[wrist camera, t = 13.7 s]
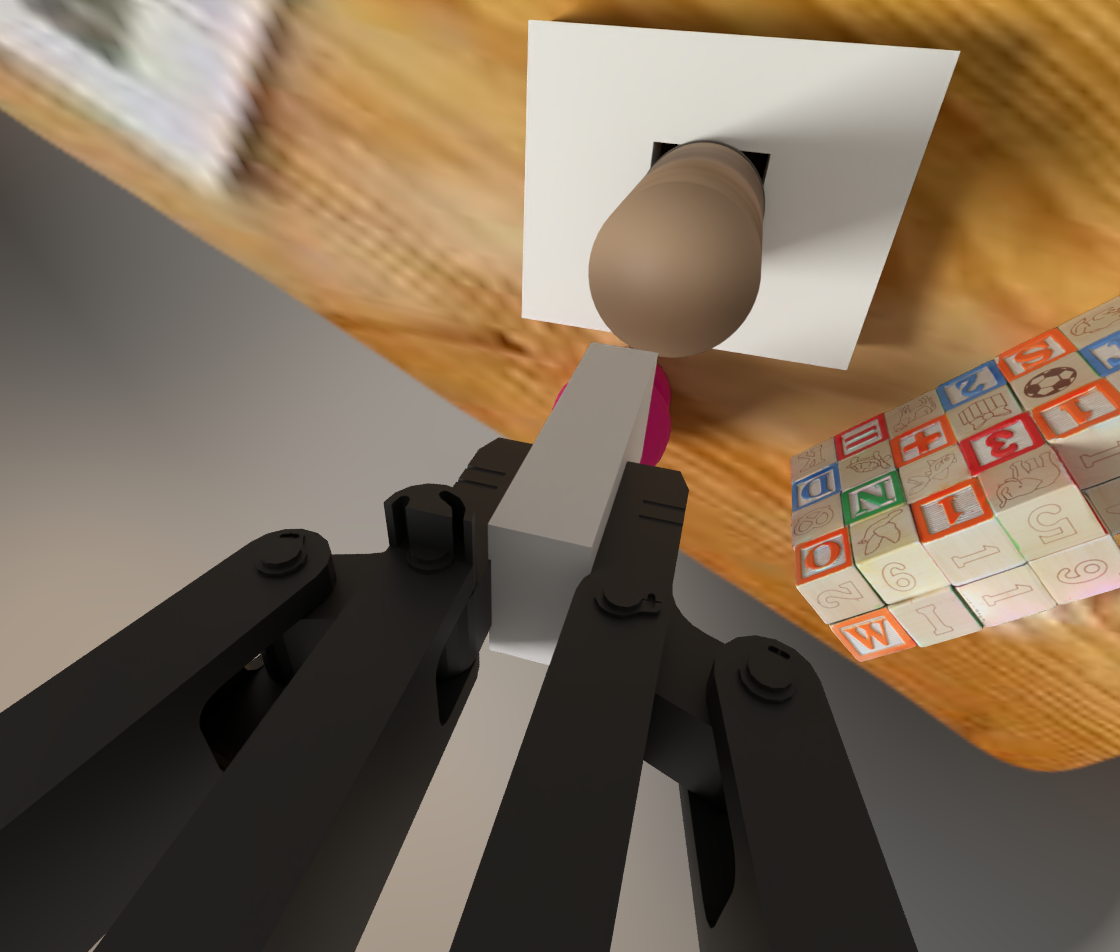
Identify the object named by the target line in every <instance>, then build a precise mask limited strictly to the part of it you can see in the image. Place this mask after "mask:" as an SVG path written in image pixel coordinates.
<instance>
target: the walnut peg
mask: <svg viewBox="0 0 1120 952" xmlns="http://www.w3.org/2000/svg"><path fill="white" fill-rule="evenodd" d="M764 213H765V193H764V188H763V183H762V180H761V178H760V175H759V173H758V171H757V169H756V168H755V166H754V165H753V163H752V162H751V161H750V159H748V158H747V157H746V156H745V155H744V154H743V153H742V152H741V151H739V150H738V149H737V148H735V147H733V146H731V145H729V144H726V143H723V142H720V141H715V140H695V141H691V142H687V143H684V144H681V145H679V146H676V147H675V148H673V149H671V150H669V151H668V152H667V153H665V154H664V155H663V156H661V157H660V158H659V159H658V160H657V161H656V162H655V163H654V165H653V166H652V167H651V168H650V170H649V171H648V172H647V174H646V175H645V176H644V178H643V179H642V180H641V181H640V182H639V183H638V184H637V185H636V187H635V188H634V189H633V190H632V191H631V192H630V193H629V195H628V196H627V197H626V198H625V199H624V200H623V201H622V202H621V204H620V205H619V206H618V207H617V208H616V209H615V210H614V212H613V213H612V214H611V215H610V216H609V218H608V219H607V220H606V221H605V223H604V224H603V226H602V227H601V229H600V231H599V232H598V234H597V237H596V239H595V241H594V244H593V247H592V250H591V254H590V260H589V269H588V278H589V288H590V292H591V296H592V299H593V302H594V305H595V307H596V309H597V311H598V313H599V315H600V317H601V319H602V320H603V321H604V323H605V324H606V326H607V327H608V328H609V329H610V330H611V331H612V332H613V333H614V334H615V335H616V336H617V337H618V338H619V339H620V340H622V341H623V342H625V343H626V344H628V345H629V346H631V347H633V348H635V349H637V350H644V351H650V352H656V353H658V356H659V357H668V358H675V357H686V356H692V355H696V354H700V353H702V352H705V351H707V350H710V349H712V348H714V347H716V346H717V345H719V344H721V343H722V342H724V341H725V340H726V339H728V338H729V337H730V336H731V335H732V334H733V333H734V332H736V331H737V330H738V328H739V327H740V326H741V325H742V324H743V322H744V321H745V320H746V318H747V316H748V315H749V313H750V312H751V310H752V308H753V305H754V303H755V301H756V298H757V295H758V292H759V287H760V281H761V264H762V239H763V219H764Z"/></svg>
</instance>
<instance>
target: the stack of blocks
mask: <svg viewBox="0 0 1120 952" xmlns="http://www.w3.org/2000/svg"><path fill="white" fill-rule="evenodd" d="M790 463H791V484H792V513H793V514H792V516H791V521H792V523H791V527H792V532H791V533H792V548H793V550H794V551H795V582H796V587H797V589H798V590H799V591H800V593H801V594H802V595H803V596H804V597H805V599H806V600H807V601H808V602H809V604H810V605H811V606H812V607H813V608H814V610H815V611H816V612H817V613H818V615H819V616H820V617H821V618H822V620H823V621H824V622H825V623H826V624H829V626H830V628H831V630H832V631H833V632H834V634H835V635H836V636H837V637H838V638H839V639H840V641H841V642H842V643H843V644H844V645H845V647H846V648H847V649H848V650H849V651H850V652H851V653H852V655H853V656H854V657H855V658H856V659H857V660H858V661H860V662H863V661H866V660H870V659H873V658H877V657H880V656H883V655H887V654H890V653H895V652H899V651H901V650H905V649H909V648H912V647H915V646H916V645H919V646H920V647H926V646H929V645H932V644H936V643H940V642H943V641H947V640H950V639H954V638H957V637H960V636H964V635H967V634H970V633H974V632H977V631H980V630H982V629H983V626H987V627H993V626H996V625H1000V624H1004V623H1007V622H1010V621H1013V620H1016V619H1020V618H1023V617H1026V616H1029V615H1032V614H1036V613H1039V612H1043V611H1046V610H1050V609H1052V608H1054V607H1055V606H1057V605H1058V604H1062V605H1064V604H1067V603H1071V602H1074V601H1077V600H1081V599H1084V598H1087V597H1091V596H1094V595H1097V594H1101V593H1104V592H1107V591H1111V590H1114V589H1117V588H1120V548H1119V546H1118V545H1117V543H1116V541H1115V540H1114V538H1113V535H1116V534H1120V296H1118V297H1116V298H1114V299H1112V300H1110V301H1108V302H1106V303H1104V304H1102V305H1100V306H1098V307H1096V308H1094V309H1092V310H1090V311H1088V312H1086V313H1084V314H1082V315H1080V316H1078V317H1076V318H1074V319H1072V320H1069V321H1068V322H1066V323H1064V324H1062V325H1061V326H1059V327H1058V328H1055V329H1052V330H1049V331H1047V332H1045V333H1043V334H1041V335H1039V336H1037V337H1035V338H1033V339H1031V340H1029V341H1027V342H1024V343H1022V344H1020V345H1018V346H1016V347H1014V348H1012V349H1010V350H1008V351H1006V352H1004V353H1002V354H1000V355H998V356H996V357H995V358H994V359H993V360H991V361H989V362H986V363H984V364H982V365H980V366H978V367H976V368H974V369H972V370H970V371H968V372H966V373H964V374H962V375H960V376H958V377H956V378H954V379H952V380H950V381H948V382H946V383H944V384H942V385H940V386H938V387H937V388H936V389H933V390H931V391H928V392H926V393H924V394H922V395H920V396H918V397H916V398H914V399H912V400H910V401H908V402H906V403H904V404H902V405H900V406H898V407H896V408H894V409H892V410H890V411H888V412H886V413H884V414H879V415H878V416H875V417H873V418H871V419H869V420H867V421H865V422H863V423H861V424H859V425H857V426H855V427H853V428H851V429H849V430H847V431H845V432H843V433H841V434H839V435H837V436H835V437H833V438H830V439H828V440H826V441H824V442H822V443H819V444H817V445H815V446H813V447H811V448H809V449H807V450H805V451H803V452H801V453H799V454H797V455H795V456H793V457H792V458H791V461H790Z"/></svg>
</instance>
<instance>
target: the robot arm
mask: <svg viewBox="0 0 1120 952" xmlns="http://www.w3.org/2000/svg"><path fill="white" fill-rule="evenodd" d="M657 358H658V353H656V352H650V351H644V350H637V349H631V348H625V347H619V346H613V345H607V344H601V343H595V342H591V344H590V345H589V347H588V349H587V351H586V352H585V354H584V356H583V358H582V359H581V361H580V363H579V365H578V366H577V368H576V370H575V372H574V374H573V375H572V377H571V379H570V381H569V382H568V384H567V386H566V388H565V389H564V391H563V393H562V395H561V396H560V398H559V400H558V402H557V403H556V405H555V407H554V409H553V410H552V412H551V414H550V416H549V417H548V419H547V421H546V423H545V425H544V426H543V428H542V430H541V432H540V433H539V435H538V437H537V439H536V440H535V442H534V444H529V443H524V442H519V441H514V440H509V439H504V438H497V439H496V440H494V441H492V442H490V443H489V444H487V445H485V446H484V447H482V448H480V449H479V450H478V452H477V453H476V454H475V456H474V457H473V459H472V460H471V461H470V463H469V464H468V468H467V469H465V470H464V472H463V473H462V474H461V476H460V477H459V480H458V482H456V483H455V485H454V486H453V487H450V486H447V485H440V484H423V485H415V486H410V487H408V488H405V489H403V490H400V491H398V492H396V493H394V494H393V495H392V496H391V497H389V498H388V499H387V500H386V501H385V502H384V509H385V516H386V523H387V531H388V537H389V545H390V546H389V547H388V549H387V550H386V551H385V552H382V553H373V554H342V555H341V554H335V555H332V554H331V550H330V547H329V544H328V541H327V540H326V539H324V538H323V537H322V536H321V535H319V534H318V533H316V532H312V531H308V530H304V529H284V530H280V531H276V532H272V533H268V534H265V535H263V536H262V537H260V538H258V539H256V540H254V541H252V542H250V543H249V544H247V545H246V546H244V547H243V548H241V549H240V550H238V551H237V552H235V553H234V554H232V555H231V556H229V557H228V558H227V559H225V560H224V561H222V562H221V563H219V564H218V565H216V566H215V567H213V568H212V569H211V570H209V571H208V572H206V573H205V574H203V575H202V576H200V577H199V578H197V579H196V580H194V581H193V582H192V583H190V584H189V585H187V586H186V587H184V588H183V589H182V590H180V591H179V592H177V593H175V594H174V595H172V596H171V597H169V598H168V599H167V600H165V601H164V602H162V603H161V604H159V605H158V606H156V607H155V608H154V609H152V610H150V611H149V612H148V613H146V614H145V615H143V616H142V617H140V618H139V619H137V620H136V621H135V622H133V623H131V624H130V625H129V626H127V627H126V628H124V629H123V630H121V631H120V632H118V633H117V634H115V635H114V636H112V637H111V638H110V639H108V640H107V641H105V642H104V643H102V644H101V645H99V646H98V647H96V648H95V649H93V650H92V651H90V652H89V653H88V654H86V655H85V656H83V657H82V658H80V659H79V660H77V661H76V662H74V663H73V664H71V665H70V666H69V667H67V668H66V669H64V670H63V671H61V672H60V673H58V674H57V675H55V676H54V677H52V678H51V679H50V680H48V681H47V682H45V683H44V684H42V685H41V686H39V687H38V688H36V689H35V690H33V691H32V692H31V693H29V694H28V695H26V696H25V697H23V698H22V699H20V700H19V701H17V702H16V703H14V704H13V705H11V706H10V707H9V708H7V709H6V710H4V711H3V712H1V713H0V952H88V951H89V950H90V949H91V948H92V947H93V946H94V945H95V944H96V943H97V942H98V941H99V940H100V939H101V938H102V937H103V935H105V934H106V935H105V936H104V937H103V938H102V940H101V941H100V943H99V944H98V945H97V947H96V948H95V950H94V951H93V952H355V950H356V947H357V945H358V943H359V941H360V939H361V936H362V934H363V932H364V930H365V927H366V925H367V923H368V921H369V918H370V916H371V914H372V911H373V909H374V907H375V905H376V903H377V901H378V898H379V896H380V894H381V892H382V889H383V887H384V885H385V883H386V880H387V878H388V876H389V874H390V871H391V869H392V867H393V865H394V862H395V860H396V858H397V856H398V854H399V851H400V849H401V847H402V844H403V842H404V840H405V838H406V836H407V833H408V831H409V829H410V827H411V824H412V822H413V820H414V818H415V815H416V813H417V811H418V809H419V806H420V804H421V802H422V800H423V797H424V795H425V793H426V790H427V789H428V786H429V784H430V782H431V780H432V777H433V775H434V773H435V770H436V768H437V766H438V764H439V762H440V759H441V757H442V755H443V752H444V751H445V748H446V746H447V744H448V742H449V739H450V737H451V735H452V733H453V730H454V728H455V726H456V724H457V721H458V719H459V717H460V715H461V713H462V710H463V708H464V706H465V704H466V701H467V699H468V696H469V695H470V692H471V690H472V688H473V686H474V683H475V681H476V679H477V675H478V670H479V651H480V649H481V647H482V645H483V642H484V640H485V638H486V636H487V634H488V632H489V639H490V640H489V643H490V650H493V651H497V652H501V653H505V654H508V655H512V656H516V657H520V658H523V659H527V660H531V661H535V662H539V663H542V664H547V665H549V667H548V670H547V673H546V677H545V679H544V682H543V685H542V688H541V690H540V693H539V696H538V699H537V702H536V705H535V708H534V710H533V713H532V716H531V719H530V722H529V725H528V728H527V730H526V733H525V736H524V739H523V742H522V745H521V748H520V750H519V753H518V756H517V759H516V762H515V765H514V768H513V771H512V773H511V776H510V779H509V782H508V785H507V788H506V791H505V794H504V796H503V799H502V802H501V805H500V808H499V810H498V813H497V816H496V819H495V822H494V825H493V828H492V831H491V834H490V836H489V839H488V842H487V845H486V848H485V851H484V853H483V857H482V859H481V862H480V865H479V868H478V871H477V873H476V876H475V879H474V882H473V885H472V888H471V891H470V894H469V897H468V899H467V902H466V905H465V908H464V911H463V914H462V917H461V919H460V922H459V925H458V928H457V931H456V934H455V937H454V940H453V943H452V945H451V948H450V951H449V952H610V947H611V942H612V936H613V930H614V924H615V919H616V913H617V907H618V902H619V896H620V890H621V884H622V879H623V873H624V867H625V862H626V855H627V850H628V844H629V838H630V833H631V827H632V822H633V816H634V810H635V804H636V799H637V793H638V787H639V781H640V776H641V770H642V764H643V760H644V761H646V762H647V763H649V764H650V765H652V766H653V767H655V768H656V769H658V770H659V771H661V772H662V773H664V774H665V775H667V776H668V777H670V778H672V779H673V780H675V781H676V782H678V783H679V791H680V799H681V807H682V815H683V822H684V830H685V838H686V845H687V854H688V862H689V870H690V877H691V885H692V893H693V901H694V908H695V917H696V924H697V932H698V940H699V948H700V952H918V950H917V947H916V944H915V942H914V939H913V936H912V933H911V931H910V928H909V925H908V922H907V919H906V917H905V914H904V911H903V909H902V906H901V903H900V900H899V897H898V895H897V892H896V889H895V886H894V883H893V881H892V878H891V875H890V873H889V870H888V867H887V864H886V862H885V858H884V856H883V853H882V850H881V848H880V845H879V842H878V839H877V836H876V834H875V831H874V828H873V825H872V822H871V820H870V817H869V814H868V812H867V809H866V806H865V803H864V800H863V798H862V795H861V792H860V789H859V787H858V784H857V781H856V778H855V775H854V773H853V770H852V767H851V764H850V762H849V759H848V756H847V753H846V750H845V748H844V745H843V742H842V739H841V737H840V734H839V731H838V728H837V726H836V723H835V720H834V717H833V714H832V712H831V709H830V706H829V703H828V700H827V698H826V695H825V692H824V690H823V687H822V684H821V681H820V679H819V677H818V676H817V674H816V672H815V671H814V669H813V667H812V666H811V664H810V663H809V662H808V661H807V660H806V659H805V658H804V657H803V656H801V655H800V654H799V653H798V652H797V651H796V650H795V649H793V648H791V647H789V646H787V645H785V644H783V643H781V642H779V641H777V640H775V639H770V638H766V637H760V636H756V635H755V636H746V637H737V638H735V639H733V640H731V641H730V642H728V643H726V644H724V643H722V642H720V641H719V640H717V639H715V638H713V637H711V636H709V635H707V634H706V633H704V632H702V631H701V630H699V629H698V628H696V627H695V626H693V625H692V624H691V623H690V622H689V621H688V620H687V619H686V618H685V617H684V616H683V615H682V614H681V612H680V610H679V609H678V608H677V606H676V604H675V601H674V598H673V595H672V594H673V593H672V584H673V579H674V573H675V567H676V561H677V556H678V550H679V544H680V538H681V532H682V526H683V521H684V515H685V509H686V504H687V498H688V492H689V489H688V487H687V485H686V483H685V480H684V478H683V476H682V474H681V472H680V471H675V470H670V469H665V468H660V467H655V466H650V465H645V464H640V460H641V457H642V451H643V445H644V439H645V433H646V426H647V420H648V414H649V408H650V402H651V395H652V389H653V383H654V377H655V370H656V364H657ZM259 654H260V655H259ZM258 655H259V656H258ZM257 656H258V657H257ZM255 657H257V658H255ZM254 658H255V659H254ZM253 659H254V660H253Z"/></svg>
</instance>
